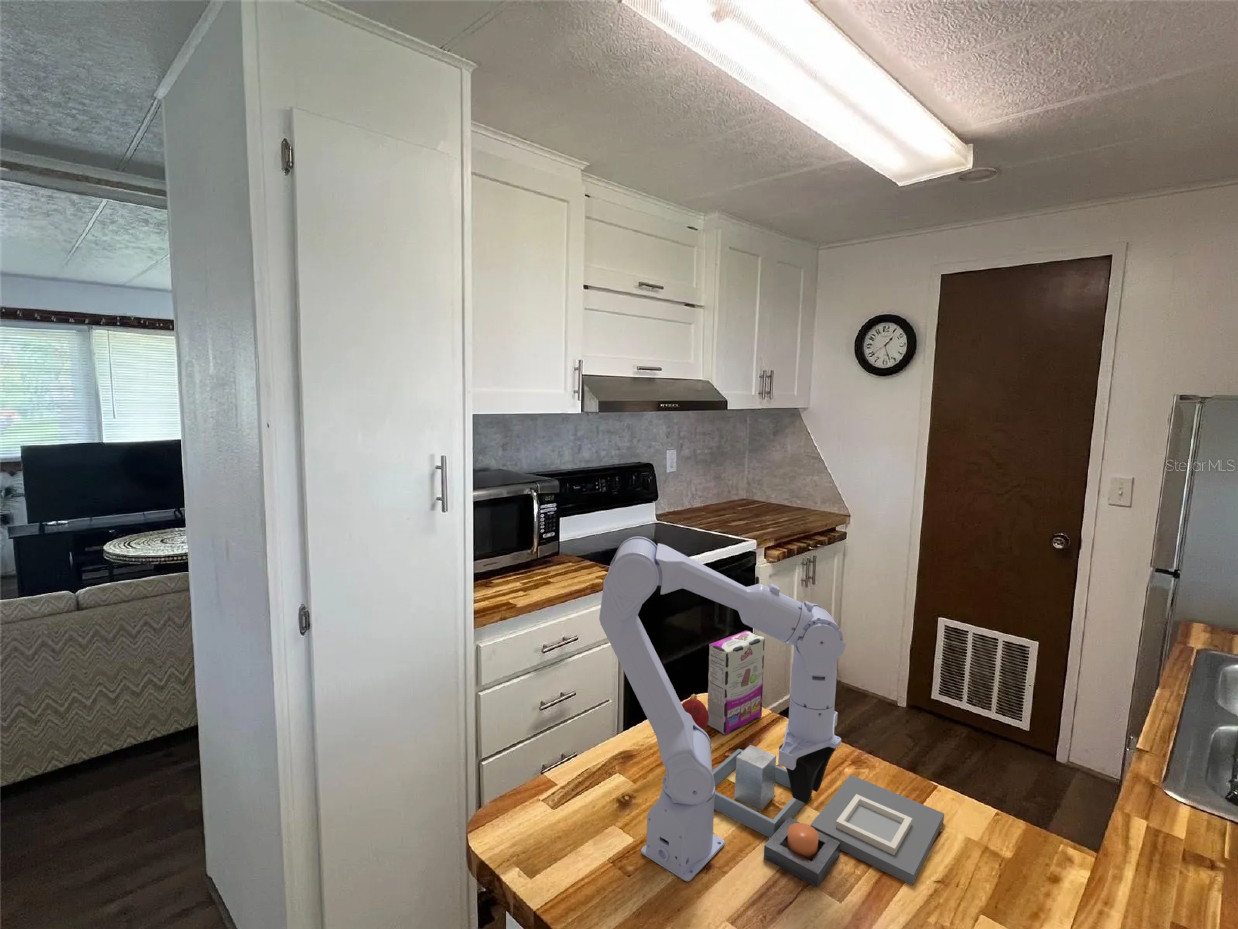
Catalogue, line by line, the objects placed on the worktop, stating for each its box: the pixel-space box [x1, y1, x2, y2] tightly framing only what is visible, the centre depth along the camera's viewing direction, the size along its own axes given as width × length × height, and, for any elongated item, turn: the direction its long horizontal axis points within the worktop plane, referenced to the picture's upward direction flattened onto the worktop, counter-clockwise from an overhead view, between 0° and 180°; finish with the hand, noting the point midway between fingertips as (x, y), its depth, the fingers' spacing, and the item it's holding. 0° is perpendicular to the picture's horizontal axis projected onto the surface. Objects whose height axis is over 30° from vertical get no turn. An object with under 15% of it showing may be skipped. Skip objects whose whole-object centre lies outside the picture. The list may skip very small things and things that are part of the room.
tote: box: [712, 748, 813, 839], centre depth 98 cm, size 13×13×2 cm
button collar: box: [763, 817, 841, 888], centre depth 86 cm, size 8×8×2 cm
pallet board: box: [809, 774, 945, 886], centre depth 92 cm, size 16×14×2 cm
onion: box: [681, 693, 709, 731], centre depth 115 cm, size 6×6×8 cm
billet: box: [733, 744, 777, 812], centre depth 98 cm, size 4×4×7 cm
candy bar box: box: [706, 630, 766, 736], centre depth 120 cm, size 11×5×16 cm, turn 129°
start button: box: [787, 822, 819, 861], centre depth 86 cm, size 4×4×2 cm
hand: (805, 793), depth 85 cm, fingers open, 3 cm apart
